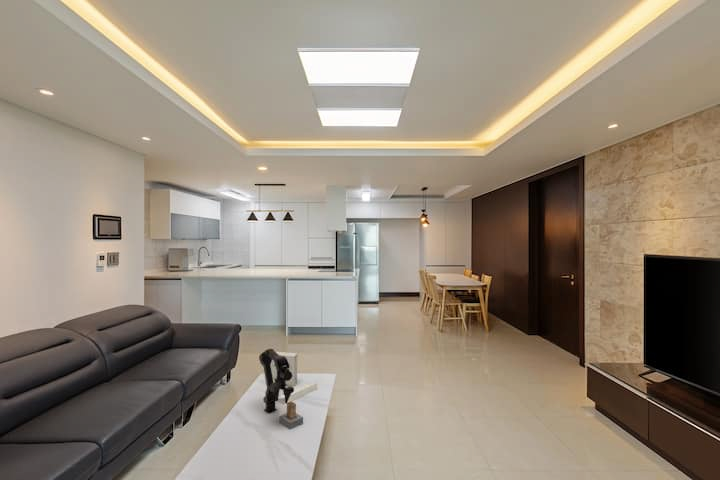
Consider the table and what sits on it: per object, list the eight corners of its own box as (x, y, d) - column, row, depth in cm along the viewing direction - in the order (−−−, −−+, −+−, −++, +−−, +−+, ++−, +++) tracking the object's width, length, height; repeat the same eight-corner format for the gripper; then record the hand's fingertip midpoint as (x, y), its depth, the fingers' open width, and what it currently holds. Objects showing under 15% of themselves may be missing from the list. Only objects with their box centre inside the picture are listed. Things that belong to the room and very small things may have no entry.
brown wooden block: (286, 422, 225) (286, 403, 225) (291, 420, 228) (291, 401, 228) (291, 425, 222) (291, 405, 222) (295, 423, 224) (295, 403, 224)
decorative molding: (276, 405, 256) (285, 405, 250) (275, 398, 257) (284, 398, 251) (308, 389, 284) (317, 389, 278) (307, 383, 285) (316, 383, 279)
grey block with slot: (279, 422, 225) (279, 416, 225) (292, 417, 232) (292, 410, 233) (290, 429, 217) (290, 422, 217) (303, 423, 224) (303, 417, 224)
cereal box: (268, 384, 285) (269, 354, 286) (272, 381, 293) (272, 351, 293) (293, 386, 282) (294, 355, 282) (296, 383, 289) (297, 353, 290)
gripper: (262, 377, 229) (262, 402, 228) (280, 383, 217) (281, 409, 216) (275, 373, 237) (276, 397, 236) (294, 378, 226) (294, 403, 225)
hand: (281, 401), depth 228 cm, fingers open, 9 cm apart
